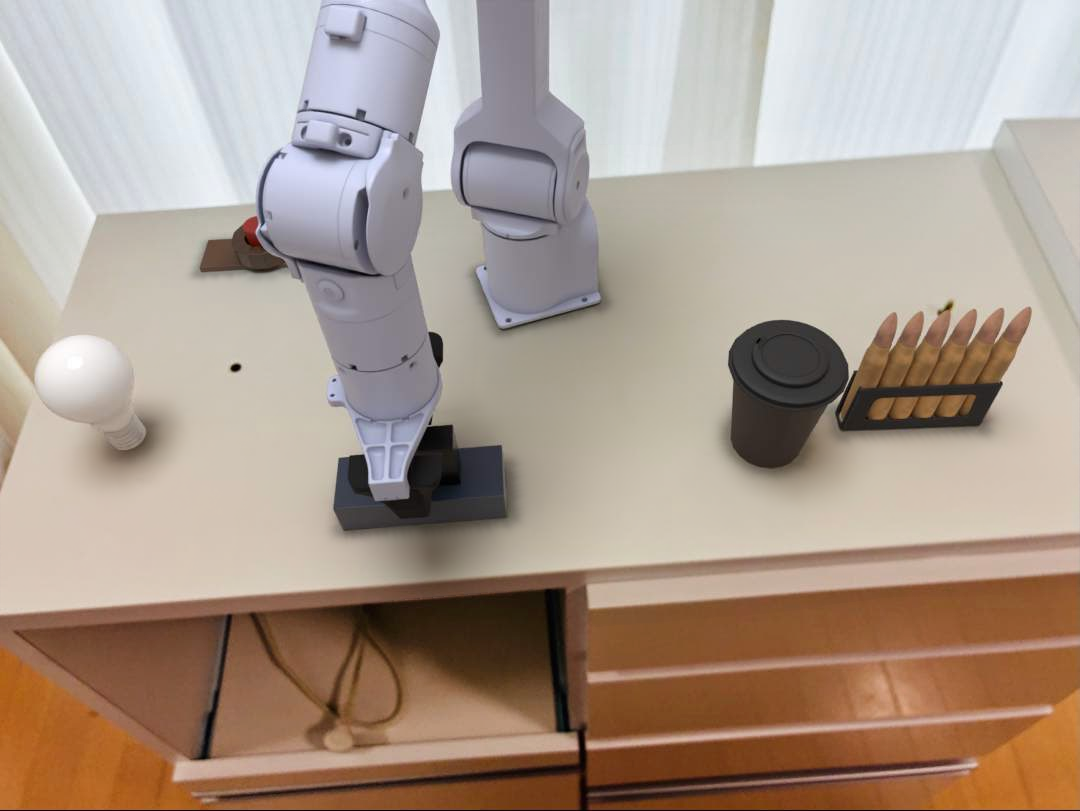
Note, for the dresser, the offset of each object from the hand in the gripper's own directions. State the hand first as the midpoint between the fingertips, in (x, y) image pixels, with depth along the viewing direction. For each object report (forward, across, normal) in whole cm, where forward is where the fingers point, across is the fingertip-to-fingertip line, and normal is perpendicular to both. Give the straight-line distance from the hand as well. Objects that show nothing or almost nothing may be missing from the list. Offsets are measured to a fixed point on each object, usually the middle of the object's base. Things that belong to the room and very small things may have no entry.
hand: (416, 466), depth 58 cm
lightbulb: (+4, -8, -24) cm, 25 cm away
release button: (+2, -29, -16) cm, 33 cm away
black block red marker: (+1, 0, 0) cm, 1 cm away
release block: (+4, -29, -16) cm, 33 cm away
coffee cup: (+4, -3, +26) cm, 27 cm away
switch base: (+4, 0, 0) cm, 4 cm away
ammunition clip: (+4, -4, +37) cm, 38 cm away
